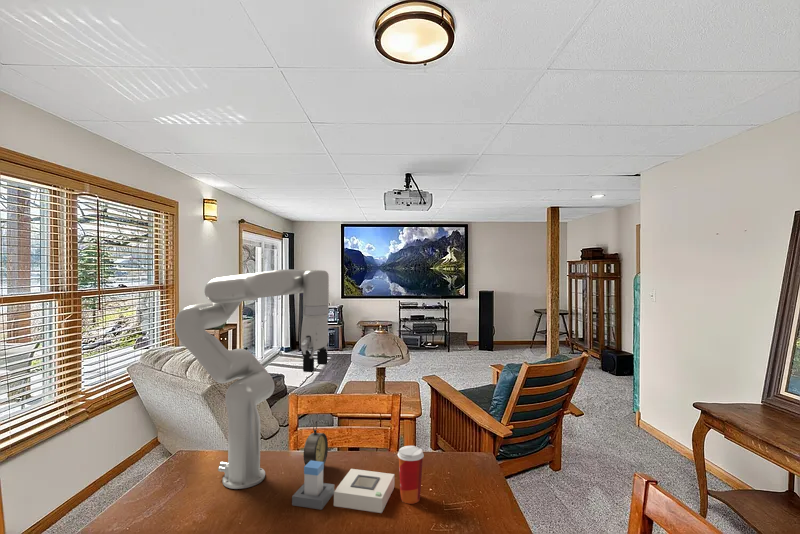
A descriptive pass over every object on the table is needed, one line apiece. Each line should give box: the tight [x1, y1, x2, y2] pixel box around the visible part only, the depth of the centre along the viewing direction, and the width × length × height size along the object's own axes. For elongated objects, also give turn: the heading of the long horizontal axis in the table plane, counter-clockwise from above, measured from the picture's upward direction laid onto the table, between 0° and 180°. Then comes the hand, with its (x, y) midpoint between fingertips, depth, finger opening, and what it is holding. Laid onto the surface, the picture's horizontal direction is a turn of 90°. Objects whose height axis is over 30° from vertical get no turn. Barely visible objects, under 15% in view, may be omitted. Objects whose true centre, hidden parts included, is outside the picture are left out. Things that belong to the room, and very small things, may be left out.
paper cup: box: [396, 445, 425, 505], centre depth 123 cm, size 8×8×14 cm
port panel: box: [333, 468, 395, 514], centre depth 124 cm, size 14×14×4 cm
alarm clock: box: [303, 420, 329, 466], centre depth 139 cm, size 11×5×16 cm, turn 168°
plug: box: [303, 460, 325, 497], centre depth 122 cm, size 4×4×10 cm
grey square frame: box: [291, 482, 335, 511], centre depth 122 cm, size 9×9×2 cm
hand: (315, 367), depth 127 cm, fingers open, 9 cm apart
